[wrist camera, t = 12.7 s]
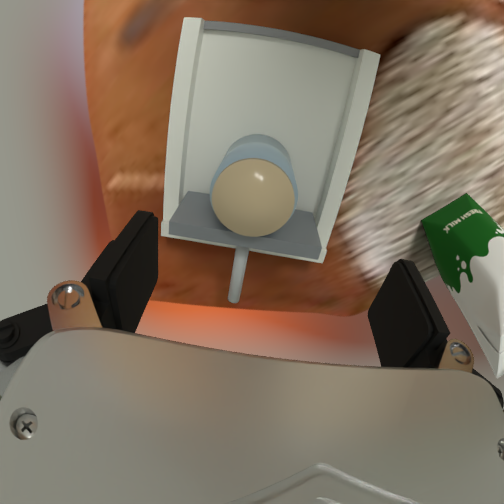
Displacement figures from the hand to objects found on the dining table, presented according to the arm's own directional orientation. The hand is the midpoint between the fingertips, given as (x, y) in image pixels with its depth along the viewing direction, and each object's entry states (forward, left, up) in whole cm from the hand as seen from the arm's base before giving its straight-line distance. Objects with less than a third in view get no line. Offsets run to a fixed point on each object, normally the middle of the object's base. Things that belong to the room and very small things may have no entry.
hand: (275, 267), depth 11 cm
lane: (-1, -1, -19) cm, 19 cm away
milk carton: (+4, +23, -19) cm, 30 cm away
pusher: (+10, -1, -18) cm, 20 cm away
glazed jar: (+2, -1, -18) cm, 18 cm away
